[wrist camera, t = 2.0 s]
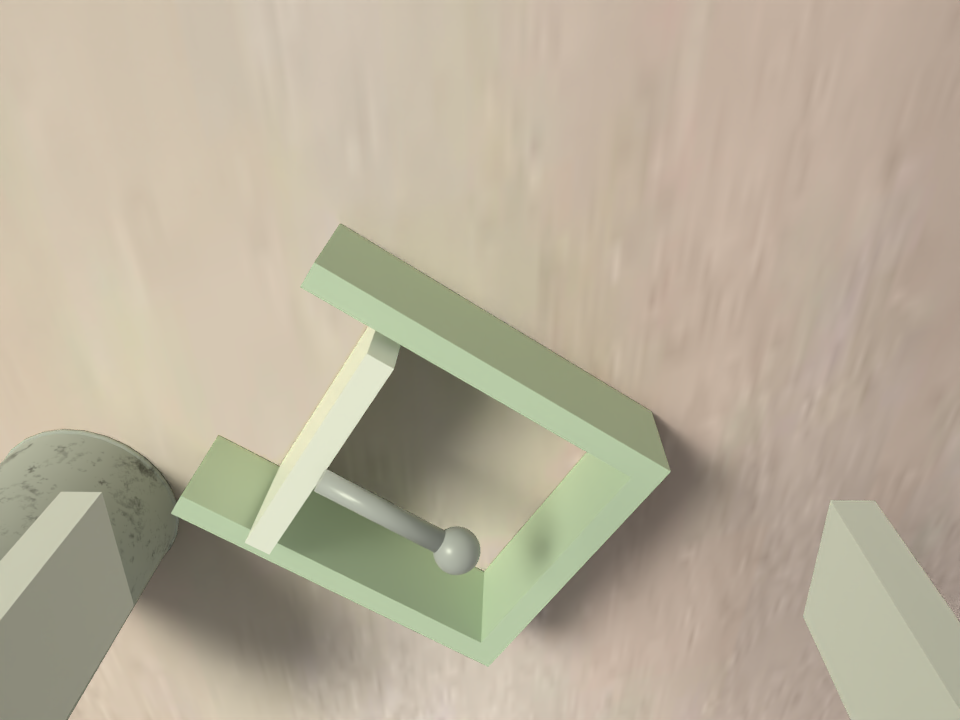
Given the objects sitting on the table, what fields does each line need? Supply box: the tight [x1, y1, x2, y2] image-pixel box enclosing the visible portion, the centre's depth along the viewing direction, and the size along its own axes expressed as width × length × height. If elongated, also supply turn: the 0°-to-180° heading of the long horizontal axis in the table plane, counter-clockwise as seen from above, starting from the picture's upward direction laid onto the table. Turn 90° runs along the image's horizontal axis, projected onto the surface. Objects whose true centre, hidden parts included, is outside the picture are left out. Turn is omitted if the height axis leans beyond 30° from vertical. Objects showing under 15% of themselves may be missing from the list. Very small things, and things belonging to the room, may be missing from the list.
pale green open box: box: [171, 224, 671, 667], centre depth 36 cm, size 17×14×5 cm
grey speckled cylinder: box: [0, 429, 179, 720], centre depth 36 cm, size 10×10×12 cm
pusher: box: [245, 326, 480, 575], centre depth 34 cm, size 9×11×8 cm
